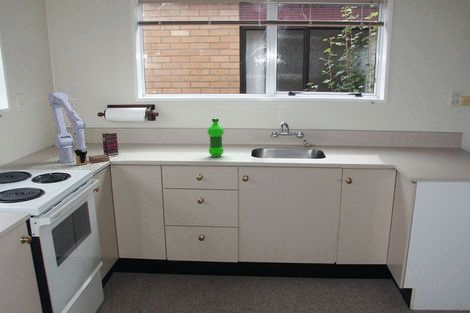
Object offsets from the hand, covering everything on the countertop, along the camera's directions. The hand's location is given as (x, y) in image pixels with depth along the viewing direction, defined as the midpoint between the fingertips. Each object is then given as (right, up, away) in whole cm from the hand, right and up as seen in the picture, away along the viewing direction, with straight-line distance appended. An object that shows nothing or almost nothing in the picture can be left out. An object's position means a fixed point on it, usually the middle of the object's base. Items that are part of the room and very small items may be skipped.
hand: (81, 161), depth 238 cm
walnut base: (+7, 0, +11) cm, 13 cm away
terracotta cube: (0, -2, 0) cm, 2 cm away
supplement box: (+10, +3, +27) cm, 29 cm away
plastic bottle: (+82, +3, +19) cm, 84 cm away
